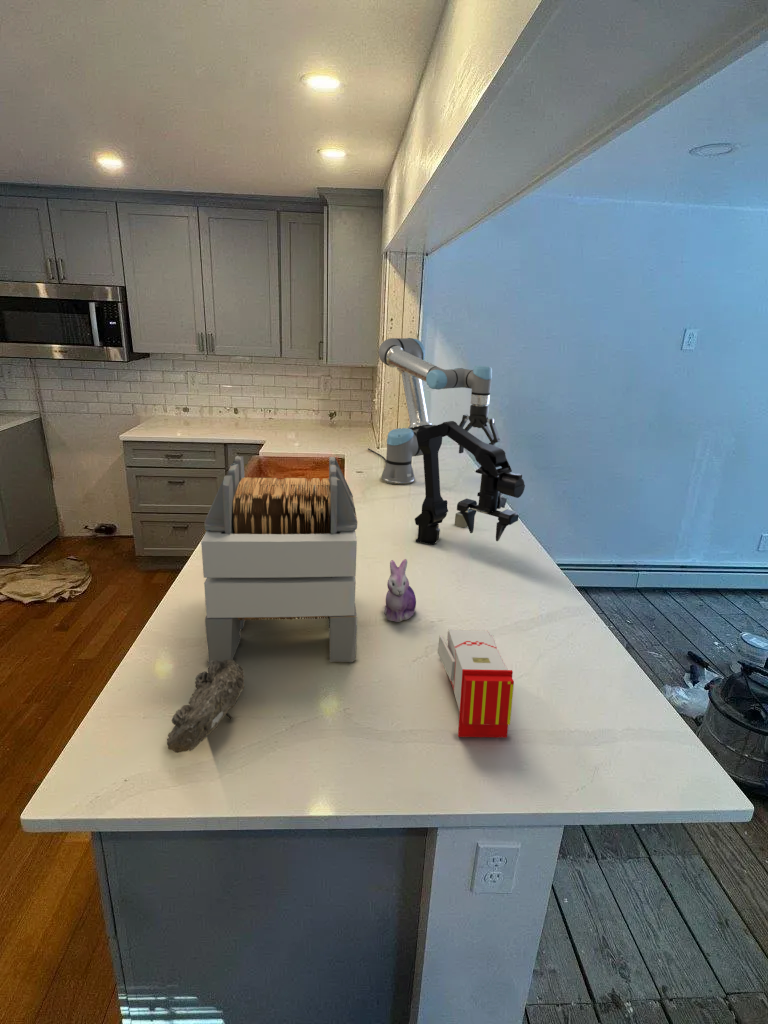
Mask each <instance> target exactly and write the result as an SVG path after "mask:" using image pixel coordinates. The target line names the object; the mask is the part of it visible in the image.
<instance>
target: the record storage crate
mask: <svg viewBox="0 0 768 1024" xmlns="http://www.w3.org/2000/svg"><path fill="white" fill-rule="evenodd" d="M328 458H329V459H328V477H327V478H326V477H325V478H324V477H323V478H319V477H312V478H310V479H307V478H306V477H284V478H277V477H245V476H246V475H245V462H244V456H243V455H242V456H241V455H240V456H239V455H235V457H234V459H233V461H232V463H231V464H230V466H229V468H228V471H227V473H226V475H224V477H223V479H222V480H221V483H220V486H219V487H218V490H217V491H216V495H215V497H214V499H213V501H212V504H211V506H210V508H209V511H207V515H206V517H205V519H204V521H203V522H204V523H203V524H204V530H205V533H204V534H203V537H202V538H201V540H200V541H201V542H200V544H201V556H202V558H201V559H202V574H203V579H205V578H206V579H205V581H204V583H203V586H204V587H203V588H204V600H205V612H206V613H205V618H204V624H205V625H204V626H205V639H206V646H207V660H208V661H207V664H208V666H209V665H210V662H211V661H212V660H217V661H222V662H223V661H224V660H227V659H228V660H231V659H232V660H234V658H235V654H236V652H237V649H238V647H239V645H240V642H241V631H242V630H243V629H244V626H245V625H244V624H245V621H265V620H267V621H270V620H273V621H275V620H276V621H277V620H282V621H283V620H303V619H304V620H312V619H313V620H317V619H319V620H321V619H327V620H328V645H329V646H328V649H329V651H328V652H329V662H330V663H339V662H340V663H344V662H345V663H353V662H354V661H355V660H356V659H357V630H358V629H357V626H358V625H357V623H358V614H357V607H356V587H357V586H356V585H357V584H356V576H357V575H356V574H357V551H358V550H357V549H358V548H357V546H358V539H357V532H356V530H357V529H358V517H357V512H356V507H355V501H354V495H353V493H352V491H351V488H350V487H349V485H348V482H347V480H346V478H345V476H344V473H343V471H342V469H341V467H340V465H339V463H338V461H337V458H336V457H335V456H329V457H328Z"/></svg>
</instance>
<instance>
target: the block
mask: <svg viewBox="0 0 768 1024" xmlns="http://www.w3.org/2000/svg"><path fill="white" fill-rule="evenodd" d="M460 512H461V511H458V512H456V513H455V515H454V526H456V527H459V528H462V529H466V528H468V526H467V523H466V521H465V519H464V517H463V515H462V514H460Z"/></svg>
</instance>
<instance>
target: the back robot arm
mask: <svg viewBox="0 0 768 1024" xmlns="http://www.w3.org/2000/svg"><path fill="white" fill-rule="evenodd" d="M378 357H379V359H380V361H381V362H382V363H383V364H384V365H386V366H388V367H390V368H397V371H398V372H399V373H400V374H401V379H402V384H403V390H404V396H405V402H406V408H407V412H408V413H407V414H408V419H409V426H408V427H402V428H401V427H399V428H393V429H391V430H390V431H389V432H388V433H387V438H386V458H385V457H384V456H383V455H382V454H380V453H378V452H376V451H374V450H373V449H371V448H370V447H369V448H367V450H368V451H370V452H371V453H374V454H375V455H377V456H379V457H381V458H382V459H383V460H384V462H385V465H384V468H383V471H382V472H381V473H382V474H381V481H382V482H384V483H386V484H390V485H395V486H396V485H401V486H402V485H403V486H404V485H411V484H413V483H414V482H415V480H416V479H415V474H414V469H413V465H412V461H413V457H418V456H419V457H420V456H423V453H422V451H421V450H420V448H419V446H418V442H417V437H416V433H417V431H418V430H419V428H421V427H426V426H432V425H433V423H432V422H430V421H429V417H428V410H427V404H426V399H425V393H424V387H423V382H426V385H427V386H428V387H429V388H430V389H431V390H438V391H439V390H446V389H461V388H463V389H471V395H470V404H471V405H470V407H469V415H468V414H467V413H466V414H462V417H461V421H460V422H459V424H458V425H459V426H460V427H462V428H463V429H465V430H466V431H468V432H469V431H470V430H471V429H472V428H478V429H481V430H482V431H483V432H484V434H485V435H486V437H487V438H488V440H489V443H488V444H491V445H494V446H496V444H497V443H500V442H501V438H500V435H499V431H498V430H497V425H496V419H495V418H489V417H488V416H489V410H490V406H489V405H490V399H491V398H490V397H491V389H492V388H491V387H492V381H493V368H492V367H491V366H489V365H474V366H473V369H468V368H464V367H456V368H453V369H450V368H449V369H443V368H441V367H439V366H437V365H435V364H432V363H431V362H428V361H426V360H425V357H426V348H425V346H424V344H423V342H422V341H421V340H419V339H417V338H412V337H400V338H397V337H392V338H387V339H385V340H383V341H382V343H380V345H379V347H378ZM468 420H469V423H468V424H467V422H468ZM487 423H488V424H489V425H488V424H487ZM466 424H467V425H466ZM465 425H466V426H465ZM457 445H458V454H463V453H464V450H465V448H464V447H462V446H461V445H459V444H458V443H457Z"/></svg>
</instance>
